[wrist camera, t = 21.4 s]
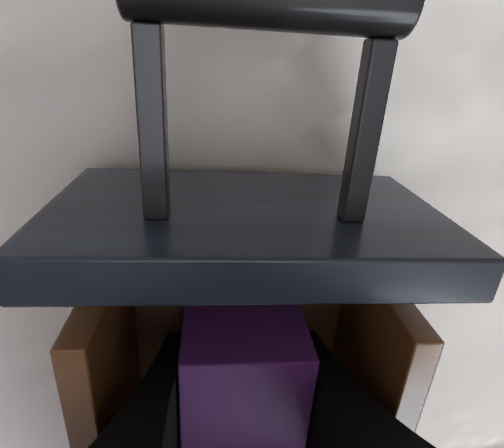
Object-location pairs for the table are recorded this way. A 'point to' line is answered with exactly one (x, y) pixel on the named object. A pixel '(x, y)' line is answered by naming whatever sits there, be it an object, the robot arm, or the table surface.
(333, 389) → the robot arm
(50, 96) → the table surface
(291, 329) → the block
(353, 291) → the drawer
